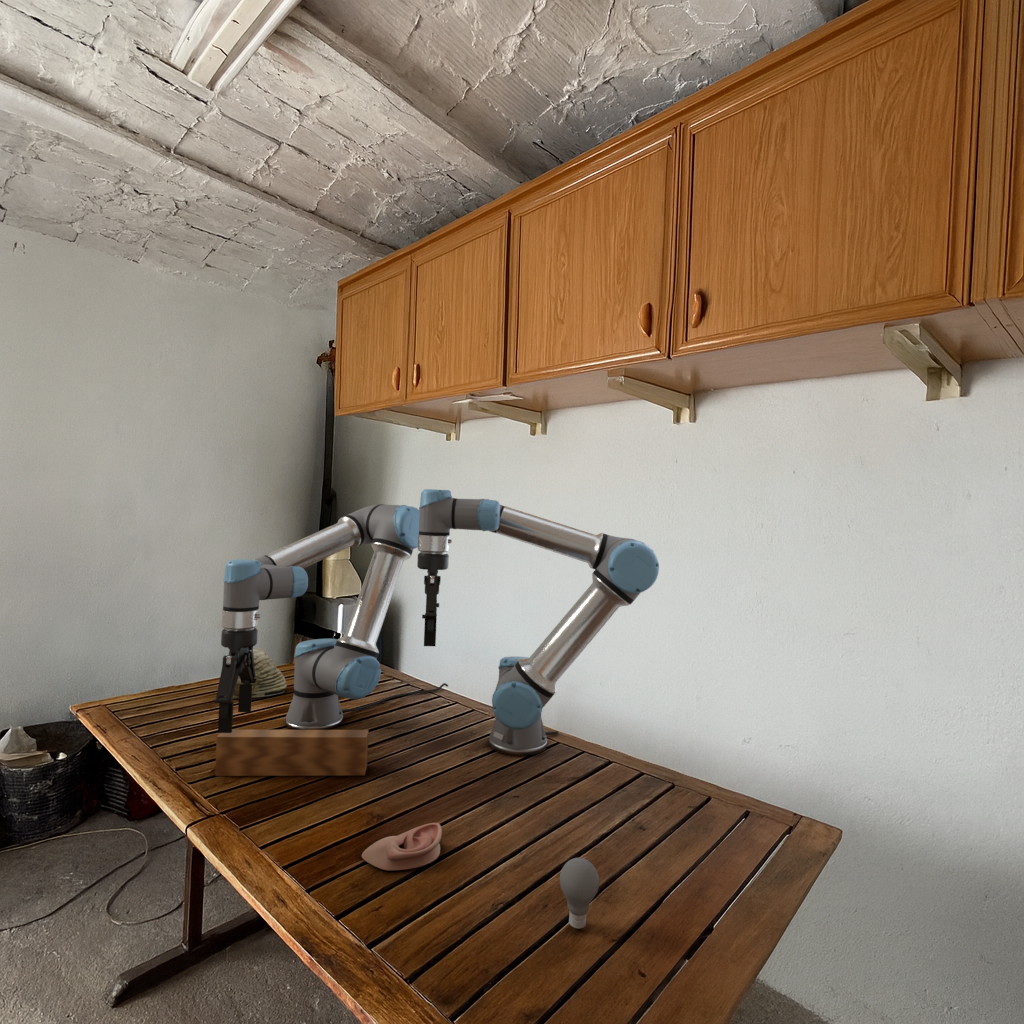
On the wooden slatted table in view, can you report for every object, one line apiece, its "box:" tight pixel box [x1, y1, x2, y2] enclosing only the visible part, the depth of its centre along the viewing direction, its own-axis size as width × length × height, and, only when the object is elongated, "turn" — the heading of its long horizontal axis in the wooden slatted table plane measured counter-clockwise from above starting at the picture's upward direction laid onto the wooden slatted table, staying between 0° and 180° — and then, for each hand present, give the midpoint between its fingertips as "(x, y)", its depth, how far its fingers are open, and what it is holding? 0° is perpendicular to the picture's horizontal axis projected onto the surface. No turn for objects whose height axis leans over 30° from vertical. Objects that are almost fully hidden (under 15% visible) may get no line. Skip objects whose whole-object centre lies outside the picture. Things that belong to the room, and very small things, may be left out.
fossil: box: [233, 647, 288, 699], centre depth 198 cm, size 9×18×15 cm, turn 132°
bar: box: [214, 728, 370, 777], centre depth 145 cm, size 33×5×9 cm, turn 96°
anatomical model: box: [361, 822, 443, 872], centre depth 114 cm, size 13×4×12 cm
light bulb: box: [559, 857, 600, 929], centre depth 96 cm, size 6×6×10 cm
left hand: (235, 721), depth 143 cm, fingers open, 13 cm apart
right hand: (430, 639), depth 154 cm, fingers open, 13 cm apart
